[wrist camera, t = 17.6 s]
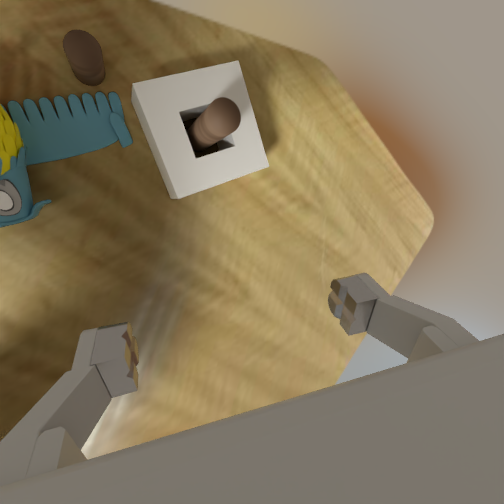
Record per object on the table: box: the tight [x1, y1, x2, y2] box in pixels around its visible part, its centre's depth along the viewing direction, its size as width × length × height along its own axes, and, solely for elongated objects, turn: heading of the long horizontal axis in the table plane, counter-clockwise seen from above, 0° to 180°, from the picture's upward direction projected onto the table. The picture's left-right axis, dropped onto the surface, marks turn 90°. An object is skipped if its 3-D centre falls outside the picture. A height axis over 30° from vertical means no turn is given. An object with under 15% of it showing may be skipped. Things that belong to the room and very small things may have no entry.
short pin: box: [63, 30, 105, 86], centre depth 30 cm, size 3×3×5 cm
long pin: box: [186, 97, 241, 152], centre depth 32 cm, size 3×3×12 cm
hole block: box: [131, 60, 269, 199], centre depth 35 cm, size 12×12×6 cm
